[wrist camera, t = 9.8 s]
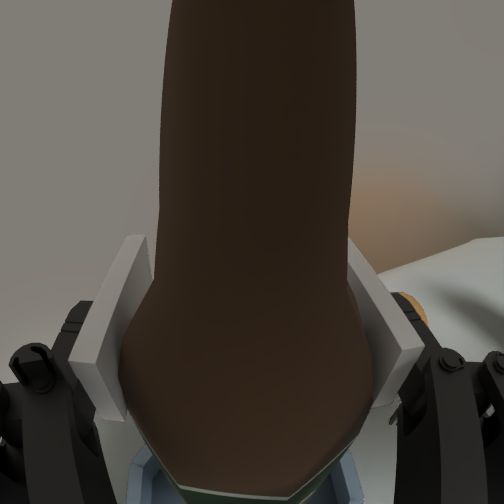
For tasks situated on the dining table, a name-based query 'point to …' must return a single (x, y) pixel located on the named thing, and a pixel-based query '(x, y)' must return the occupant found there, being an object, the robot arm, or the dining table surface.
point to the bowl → (168, 500)
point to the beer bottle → (252, 256)
